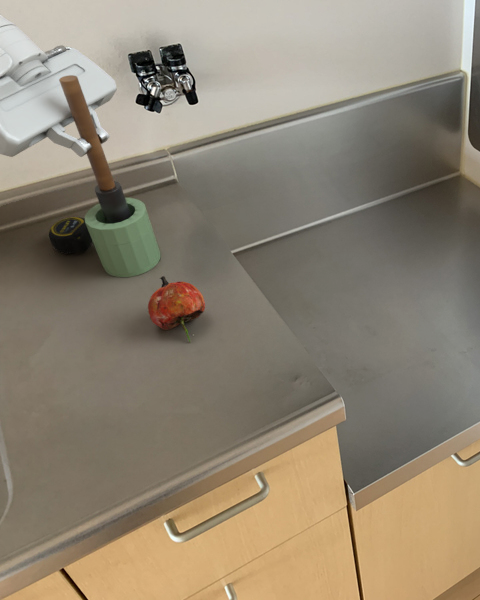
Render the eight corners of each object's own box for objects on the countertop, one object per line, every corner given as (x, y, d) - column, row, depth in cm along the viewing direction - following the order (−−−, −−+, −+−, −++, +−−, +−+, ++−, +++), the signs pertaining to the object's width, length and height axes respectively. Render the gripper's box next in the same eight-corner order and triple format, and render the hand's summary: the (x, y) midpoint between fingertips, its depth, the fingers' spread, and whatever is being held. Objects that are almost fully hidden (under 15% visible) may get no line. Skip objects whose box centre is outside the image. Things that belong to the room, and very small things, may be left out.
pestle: (108, 230, 91) (53, 85, 77) (106, 218, 94) (52, 75, 79) (133, 224, 92) (84, 80, 78) (130, 212, 95) (82, 71, 80)
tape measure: (89, 258, 98) (81, 239, 95) (47, 257, 98) (38, 238, 96) (106, 233, 103) (99, 215, 101) (66, 232, 103) (58, 214, 101)
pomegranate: (219, 337, 88) (199, 273, 89) (210, 330, 80) (188, 260, 82) (167, 354, 86) (147, 288, 88) (153, 348, 79) (132, 277, 80)
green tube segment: (106, 283, 93) (86, 234, 87) (101, 252, 99) (82, 205, 93) (164, 268, 96) (149, 220, 90) (156, 239, 102) (141, 192, 96)
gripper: (61, 55, 90) (135, 127, 94) (-60, 111, 76) (34, 193, 80) (75, 27, 86) (151, 104, 90) (-50, 80, 72) (48, 169, 76)
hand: (95, 146), depth 85 cm, fingers closed on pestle, 2 cm apart
